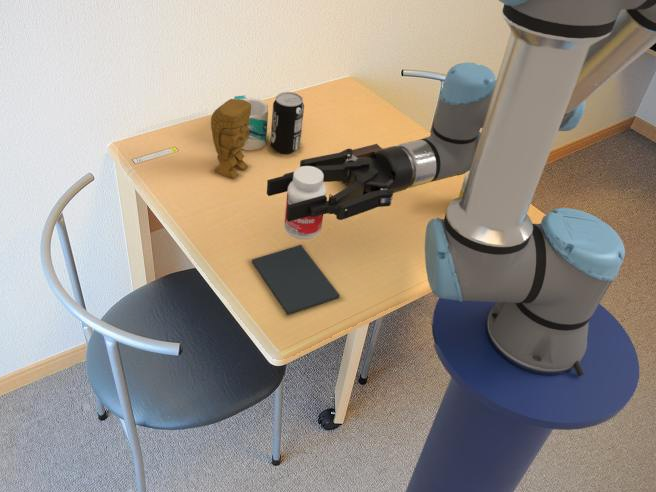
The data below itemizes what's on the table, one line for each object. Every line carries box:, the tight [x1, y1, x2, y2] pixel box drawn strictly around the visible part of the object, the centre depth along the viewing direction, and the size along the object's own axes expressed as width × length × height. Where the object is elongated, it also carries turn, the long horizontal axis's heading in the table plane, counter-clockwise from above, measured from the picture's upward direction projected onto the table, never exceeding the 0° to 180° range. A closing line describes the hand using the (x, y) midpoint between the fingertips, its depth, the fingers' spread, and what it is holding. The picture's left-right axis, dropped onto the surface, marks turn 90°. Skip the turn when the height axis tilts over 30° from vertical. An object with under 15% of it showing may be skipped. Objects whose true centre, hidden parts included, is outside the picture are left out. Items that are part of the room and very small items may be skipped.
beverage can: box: [270, 91, 305, 155], centre depth 141 cm, size 7×7×12 cm
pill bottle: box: [283, 166, 327, 240], centre depth 105 cm, size 6×6×11 cm
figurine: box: [210, 98, 251, 180], centre depth 134 cm, size 7×7×15 cm
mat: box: [251, 244, 340, 316], centre depth 115 cm, size 14×10×1 cm
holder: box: [344, 143, 383, 187], centre depth 138 cm, size 12×12×2 cm
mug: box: [233, 94, 269, 151], centre depth 145 cm, size 8×12×8 cm
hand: (277, 200), depth 102 cm, fingers closed on pill bottle, 6 cm apart
